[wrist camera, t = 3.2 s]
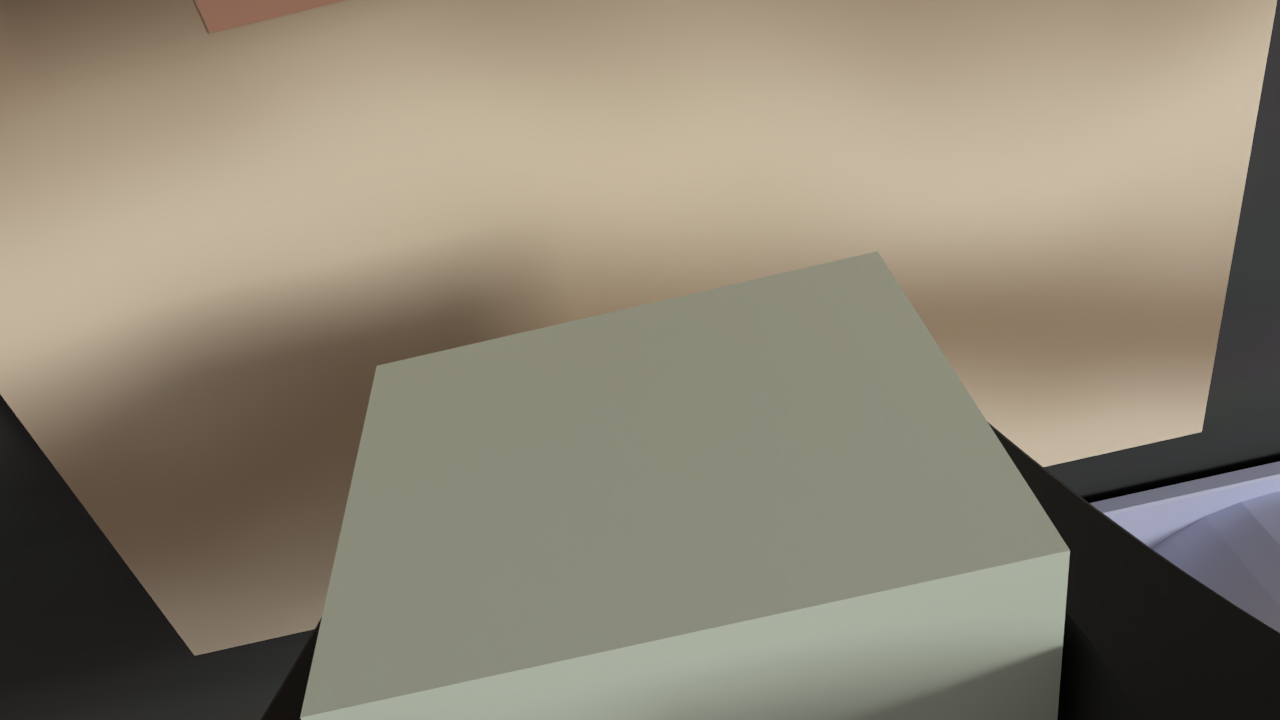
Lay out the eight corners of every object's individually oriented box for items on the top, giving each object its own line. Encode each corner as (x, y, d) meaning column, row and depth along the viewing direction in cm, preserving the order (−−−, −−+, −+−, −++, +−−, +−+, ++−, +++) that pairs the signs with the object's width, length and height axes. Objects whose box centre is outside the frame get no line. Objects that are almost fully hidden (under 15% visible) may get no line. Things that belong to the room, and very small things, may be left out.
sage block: (901, 594, 12) (1042, 924, 9) (515, 677, 12) (513, 1033, 9) (877, 251, 9) (1070, 550, 6) (376, 365, 10) (300, 718, 6)
